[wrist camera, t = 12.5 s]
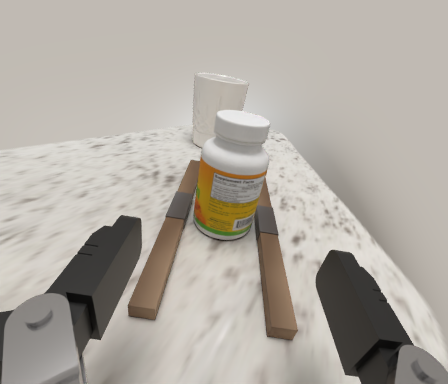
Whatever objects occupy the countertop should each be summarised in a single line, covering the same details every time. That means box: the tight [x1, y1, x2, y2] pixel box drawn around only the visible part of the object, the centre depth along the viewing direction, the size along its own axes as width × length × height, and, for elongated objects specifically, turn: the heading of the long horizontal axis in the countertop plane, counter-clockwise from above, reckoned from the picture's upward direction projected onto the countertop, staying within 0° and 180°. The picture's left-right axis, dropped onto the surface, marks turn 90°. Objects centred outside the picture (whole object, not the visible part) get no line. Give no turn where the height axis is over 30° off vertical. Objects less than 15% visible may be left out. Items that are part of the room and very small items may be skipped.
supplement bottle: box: [194, 110, 270, 240], centre depth 20 cm, size 5×5×10 cm
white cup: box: [192, 72, 249, 148], centre depth 37 cm, size 8×8×10 cm
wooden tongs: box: [128, 160, 298, 340], centre depth 22 cm, size 10×20×1 cm, turn 177°
